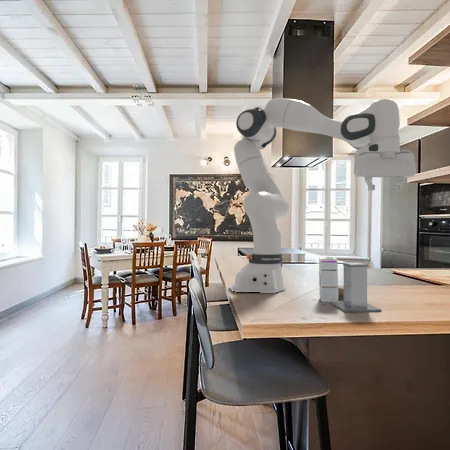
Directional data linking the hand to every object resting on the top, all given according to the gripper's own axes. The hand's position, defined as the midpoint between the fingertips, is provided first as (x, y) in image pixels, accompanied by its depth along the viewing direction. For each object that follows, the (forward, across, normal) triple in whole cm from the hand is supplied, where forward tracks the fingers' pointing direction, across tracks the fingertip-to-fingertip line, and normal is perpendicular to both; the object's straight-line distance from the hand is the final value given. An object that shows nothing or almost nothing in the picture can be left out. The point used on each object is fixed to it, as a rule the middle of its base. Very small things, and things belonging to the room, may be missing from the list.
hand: (384, 190), depth 108 cm
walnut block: (+37, +11, -7) cm, 39 cm away
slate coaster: (+37, +14, +6) cm, 40 cm away
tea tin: (+36, +14, +7) cm, 40 cm away
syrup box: (+37, +18, -4) cm, 42 cm away
